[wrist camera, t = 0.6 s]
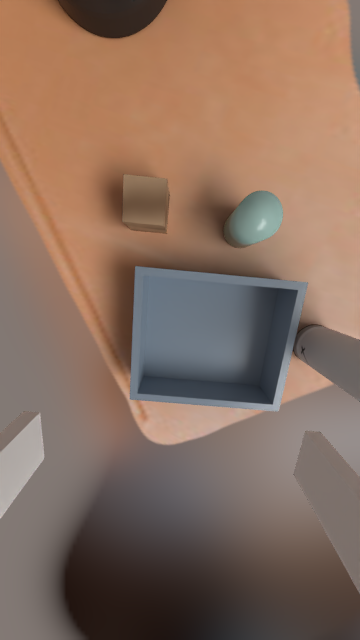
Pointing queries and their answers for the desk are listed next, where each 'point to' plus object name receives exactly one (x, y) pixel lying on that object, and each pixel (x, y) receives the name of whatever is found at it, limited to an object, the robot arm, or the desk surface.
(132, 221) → the walnut cube
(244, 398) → the tote
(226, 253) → the desk surface
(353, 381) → the travel mug
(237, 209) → the teal cylinder
